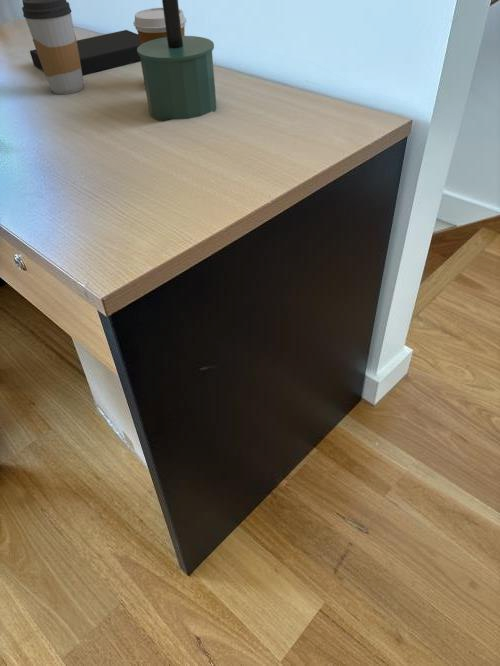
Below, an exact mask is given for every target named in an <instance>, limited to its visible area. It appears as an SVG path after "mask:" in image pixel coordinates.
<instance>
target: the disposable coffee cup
mask: <svg viewBox="0 0 500 666" xmlns="http://www.w3.org/2000/svg"><path fill="white" fill-rule="evenodd" d="M179 15H180V23H181V32H182V36H186V34H185V30H186V29H185V27H186V23H187V17H185V14H184V11H183V9H181V8H179ZM132 23H133V27H135V30H136V32H137V34H138V35H139V39H140V43H141V44H143V43H145V42H148V41H151V40H154V39H158V38H164V37H167V34H166V26H165V19H164V11H163V7H152V8H146V9H142V10H139V11H136V12H135V14H134V21H133V22H132Z"/></svg>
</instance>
